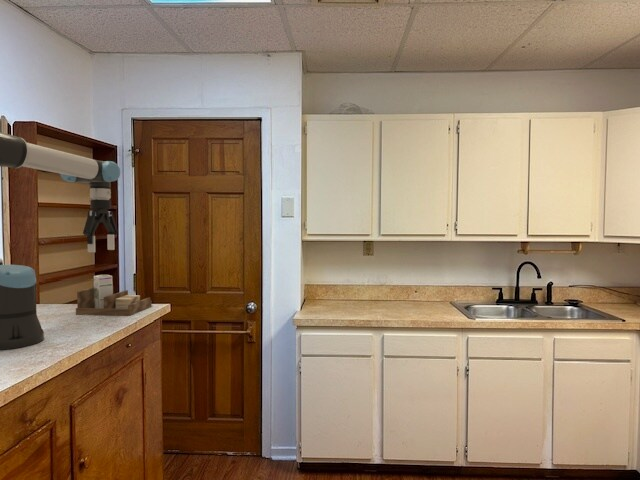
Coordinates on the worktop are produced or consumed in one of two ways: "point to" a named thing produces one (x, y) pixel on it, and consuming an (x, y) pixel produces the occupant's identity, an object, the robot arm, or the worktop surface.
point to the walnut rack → (107, 304)
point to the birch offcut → (127, 300)
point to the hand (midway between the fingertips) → (101, 251)
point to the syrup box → (102, 289)
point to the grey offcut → (121, 307)
